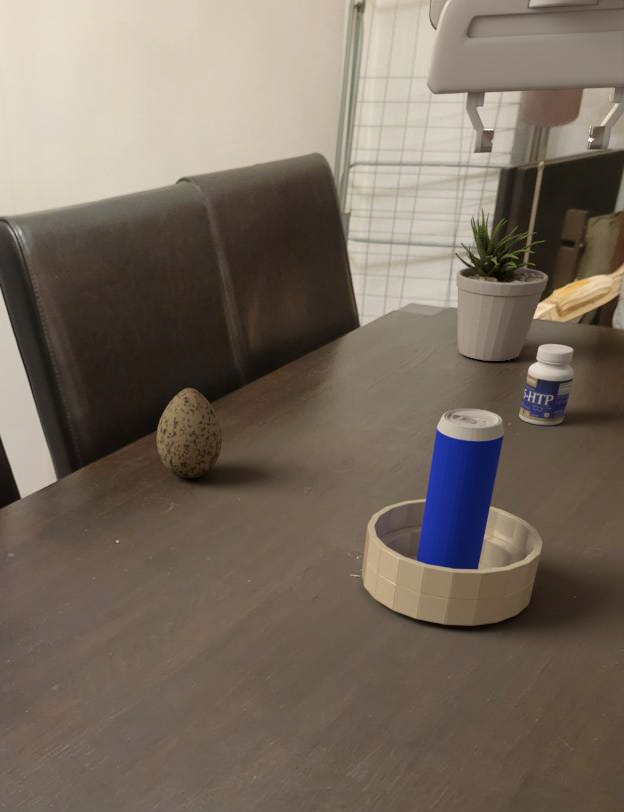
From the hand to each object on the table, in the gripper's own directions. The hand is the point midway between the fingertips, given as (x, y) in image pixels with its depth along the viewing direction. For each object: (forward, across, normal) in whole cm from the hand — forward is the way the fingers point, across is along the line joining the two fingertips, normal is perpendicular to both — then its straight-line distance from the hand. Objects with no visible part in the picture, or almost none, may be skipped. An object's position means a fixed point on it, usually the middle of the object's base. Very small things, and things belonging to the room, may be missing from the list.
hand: (538, 151), depth 84 cm
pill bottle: (+31, +8, +28) cm, 43 cm away
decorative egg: (+32, -32, +1) cm, 45 cm away
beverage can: (+33, -5, -19) cm, 39 cm away
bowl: (+34, -5, -19) cm, 39 cm away
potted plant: (+29, +3, +56) cm, 63 cm away
